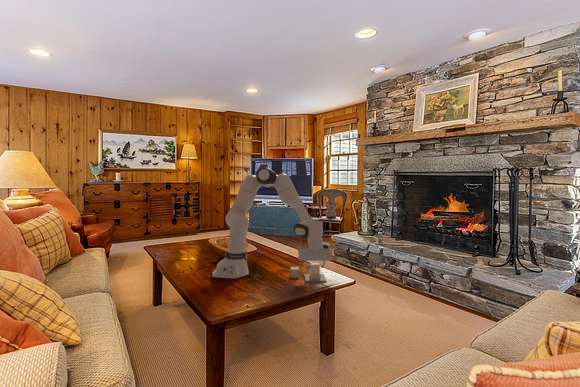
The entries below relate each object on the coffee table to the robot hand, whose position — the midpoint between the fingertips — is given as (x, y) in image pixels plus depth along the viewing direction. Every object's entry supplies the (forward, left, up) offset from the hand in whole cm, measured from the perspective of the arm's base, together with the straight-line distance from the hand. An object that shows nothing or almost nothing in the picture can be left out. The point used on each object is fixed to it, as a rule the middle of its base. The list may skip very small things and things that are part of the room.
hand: (315, 267), depth 184 cm
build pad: (0, 0, -7) cm, 7 cm away
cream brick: (0, 0, -3) cm, 3 cm away
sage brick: (-12, +5, -7) cm, 15 cm away
